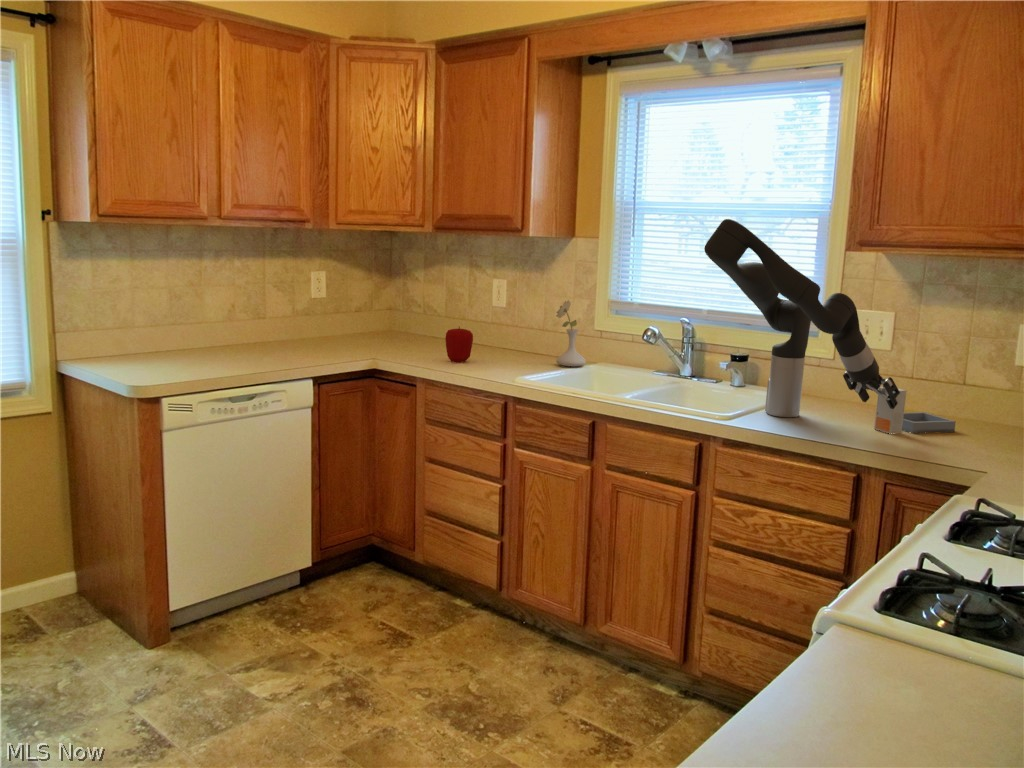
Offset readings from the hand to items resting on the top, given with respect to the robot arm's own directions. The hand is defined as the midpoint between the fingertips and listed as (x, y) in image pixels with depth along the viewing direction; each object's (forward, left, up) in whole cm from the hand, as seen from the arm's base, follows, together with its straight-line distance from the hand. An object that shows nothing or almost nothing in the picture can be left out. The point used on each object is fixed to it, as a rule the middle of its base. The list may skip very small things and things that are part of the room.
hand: (880, 403), depth 234 cm
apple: (-130, -84, -9) cm, 155 cm away
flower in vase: (-116, -45, -9) cm, 125 cm away
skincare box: (-3, +6, -9) cm, 11 cm away
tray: (-6, +18, -9) cm, 21 cm away
